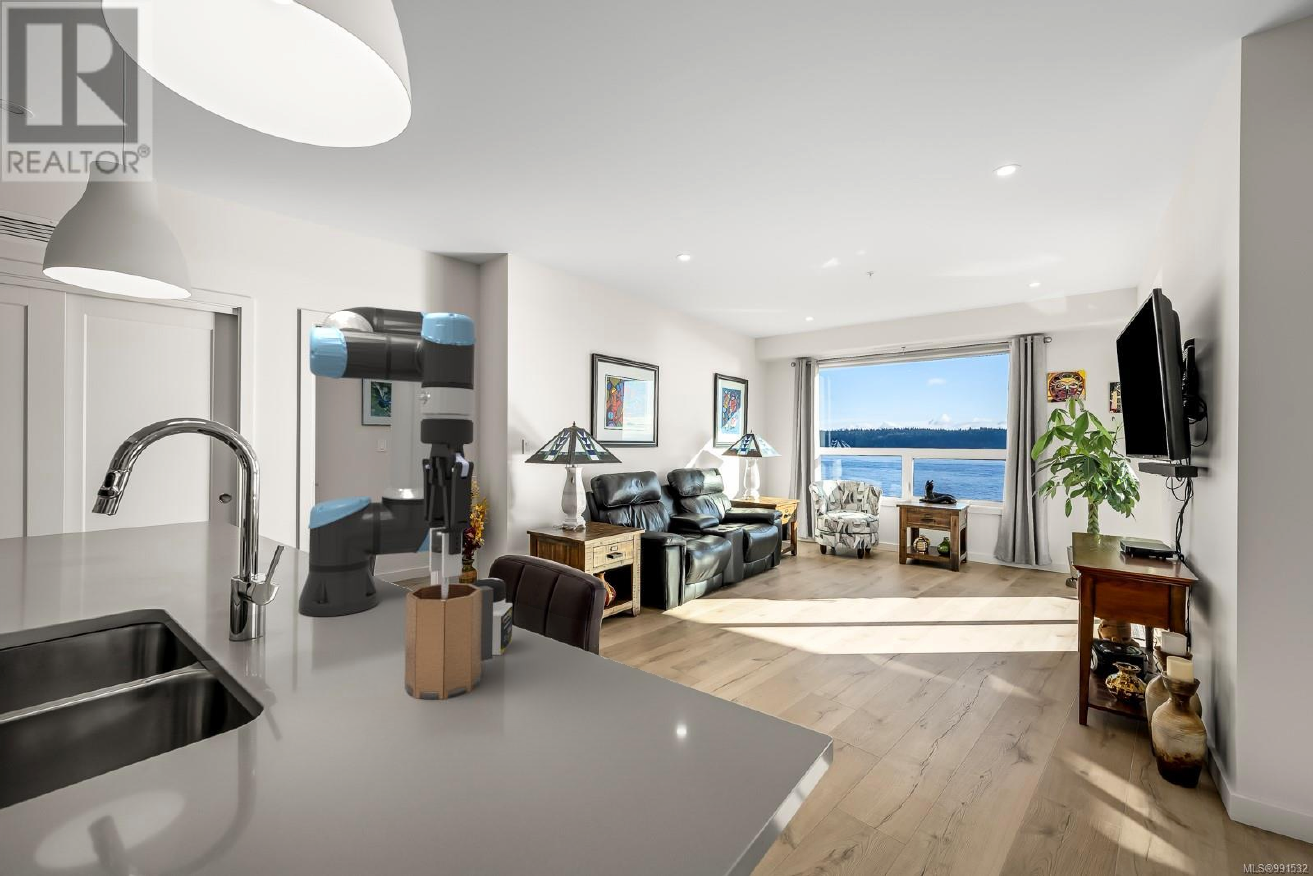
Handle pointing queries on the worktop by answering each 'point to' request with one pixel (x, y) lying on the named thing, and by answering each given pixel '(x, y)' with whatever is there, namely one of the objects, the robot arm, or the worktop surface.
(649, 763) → the worktop surface
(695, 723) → the worktop surface
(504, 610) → the medicine bottle
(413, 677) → the press carafe
